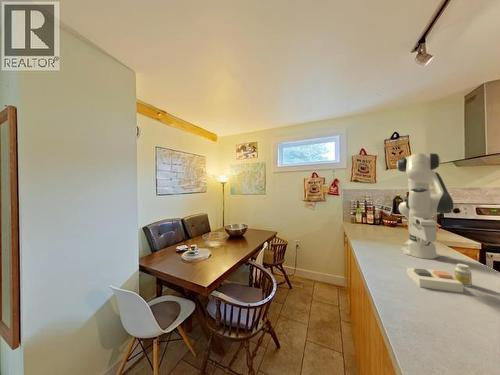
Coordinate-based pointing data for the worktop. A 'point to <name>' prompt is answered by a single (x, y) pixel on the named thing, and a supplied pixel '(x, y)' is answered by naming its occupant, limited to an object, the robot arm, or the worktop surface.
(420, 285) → the console
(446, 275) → the terracotta key
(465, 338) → the worktop surface
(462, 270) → the supplement bottle
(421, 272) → the charcoal key
